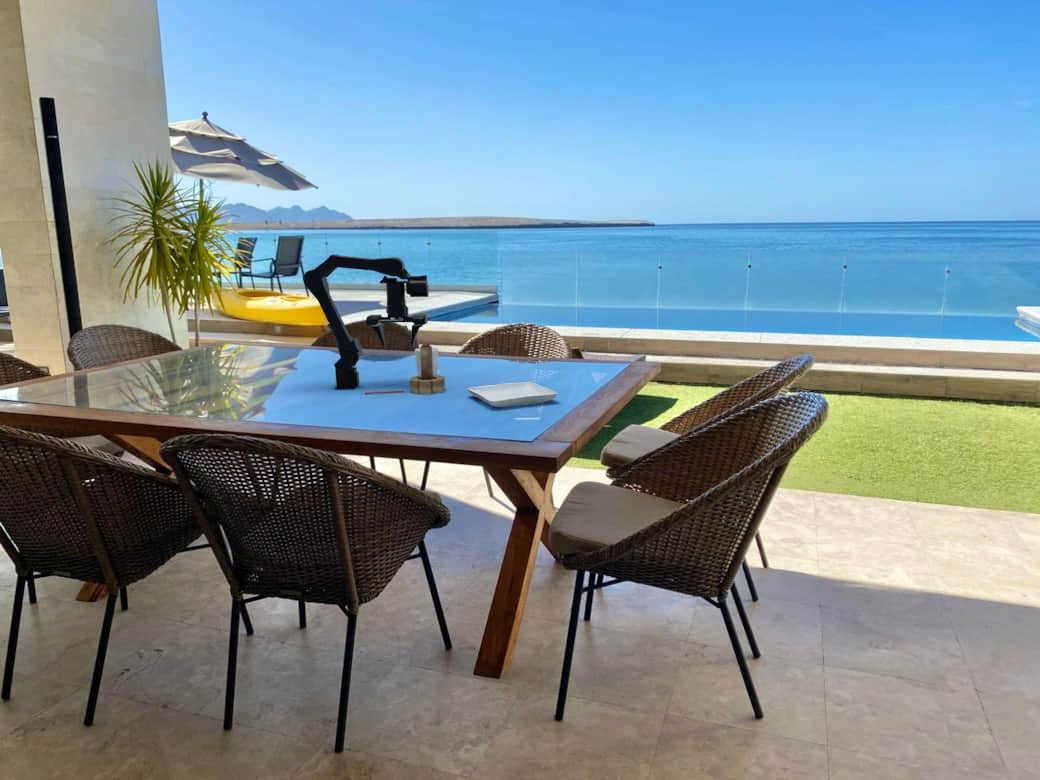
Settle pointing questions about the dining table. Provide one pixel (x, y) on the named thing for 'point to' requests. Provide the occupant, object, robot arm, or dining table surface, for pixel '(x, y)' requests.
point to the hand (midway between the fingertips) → (398, 346)
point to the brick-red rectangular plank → (385, 391)
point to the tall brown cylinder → (426, 361)
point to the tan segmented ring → (427, 385)
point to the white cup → (434, 361)
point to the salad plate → (513, 394)
